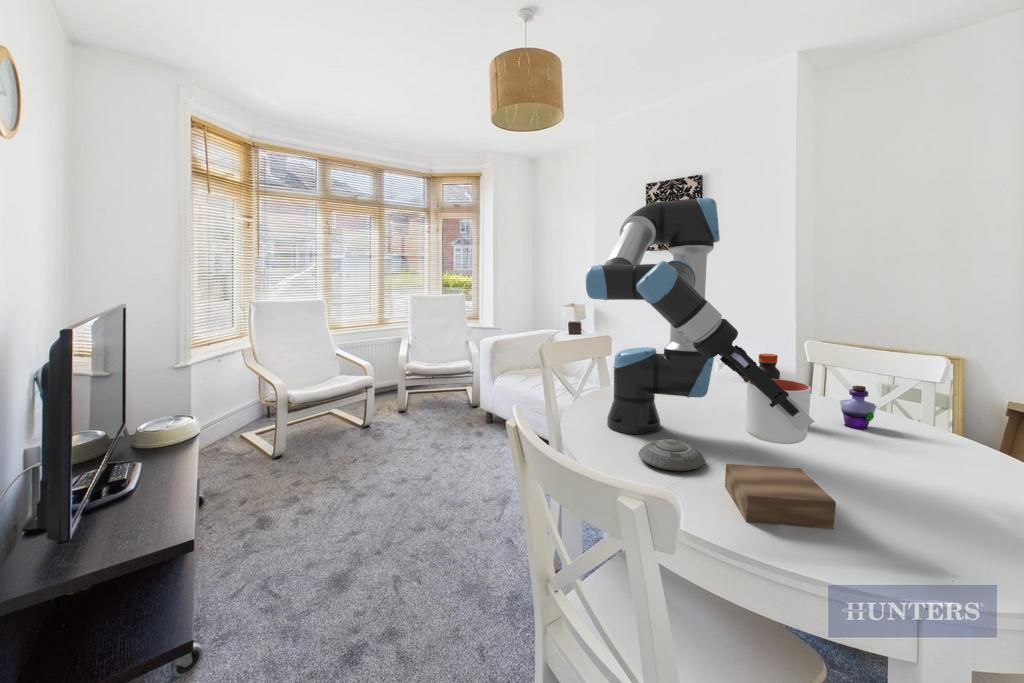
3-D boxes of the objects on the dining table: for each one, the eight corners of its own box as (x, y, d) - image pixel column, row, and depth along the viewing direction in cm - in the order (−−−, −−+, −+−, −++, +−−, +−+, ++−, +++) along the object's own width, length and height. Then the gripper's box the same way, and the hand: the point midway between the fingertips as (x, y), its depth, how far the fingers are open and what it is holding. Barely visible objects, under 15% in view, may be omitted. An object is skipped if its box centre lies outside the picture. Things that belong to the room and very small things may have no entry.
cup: (816, 448, 77) (821, 392, 76) (753, 444, 79) (757, 390, 78) (793, 429, 87) (797, 379, 85) (738, 426, 89) (741, 377, 88)
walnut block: (724, 486, 93) (726, 463, 93) (798, 491, 91) (800, 468, 90) (746, 521, 80) (747, 495, 79) (833, 529, 77) (836, 501, 76)
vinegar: (781, 422, 134) (786, 356, 131) (758, 422, 134) (763, 356, 131) (769, 415, 141) (773, 352, 138) (747, 415, 141) (751, 353, 138)
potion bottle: (870, 433, 123) (874, 391, 121) (833, 426, 130) (836, 385, 128) (878, 426, 128) (882, 386, 127) (842, 420, 135) (845, 381, 133)
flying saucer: (698, 481, 97) (699, 457, 96) (630, 467, 104) (631, 444, 104) (709, 457, 109) (710, 436, 108) (647, 446, 117) (648, 426, 116)
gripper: (681, 337, 95) (757, 411, 94) (704, 354, 73) (803, 452, 72) (709, 312, 93) (787, 388, 92) (741, 322, 71) (843, 422, 70)
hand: (794, 416), depth 82 cm, fingers closed on cup, 10 cm apart
